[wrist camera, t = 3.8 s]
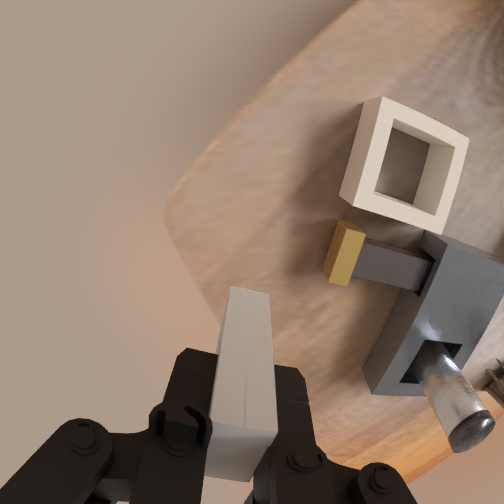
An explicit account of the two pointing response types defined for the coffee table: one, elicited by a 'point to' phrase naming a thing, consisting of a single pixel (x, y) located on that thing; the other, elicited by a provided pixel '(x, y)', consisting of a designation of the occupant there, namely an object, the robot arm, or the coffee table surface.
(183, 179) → the coffee table surface
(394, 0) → the coffee table surface
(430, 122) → the frame
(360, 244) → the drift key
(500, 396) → the wizard figurine
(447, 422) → the metal cylinder
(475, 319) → the socket
